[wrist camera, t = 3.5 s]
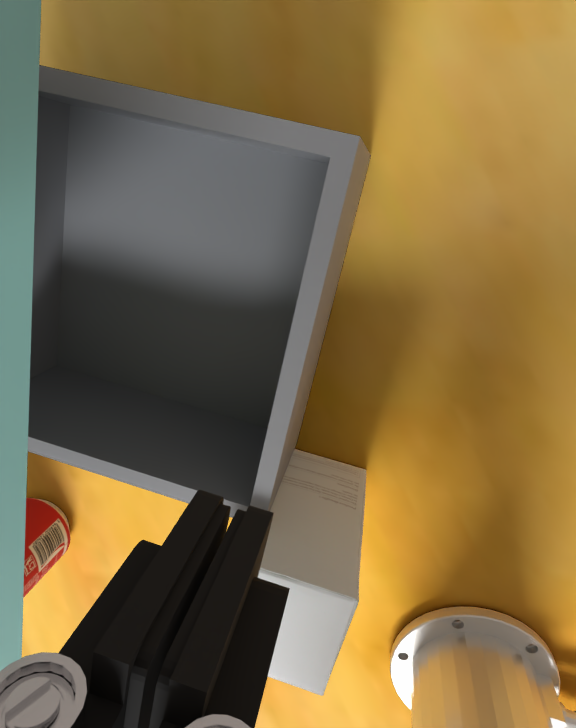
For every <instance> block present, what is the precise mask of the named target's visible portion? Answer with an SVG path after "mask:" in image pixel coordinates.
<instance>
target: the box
mask: <svg viewBox="0 0 576 728" xmlns="http://www.w3.org/2000/svg"><path fill="white" fill-rule="evenodd" d="M370 157H371V155H370V153H369V151H368V150H367V148H366V146H365V144H364V142H363V141H362V139H361V137H360V136H357V135H352V134H348V133H343V132H339V131H334V130H329V129H325V128H320V127H316V126H311V125H307V124H302V123H298V122H293V121H289V120H284V119H280V118H275V117H271V116H266V115H262V114H257V113H253V112H248V111H244V110H239V109H235V108H230V107H226V106H221V105H217V104H212V103H208V102H203V101H199V100H194V99H190V98H185V97H181V96H176V95H172V94H167V93H163V92H158V91H154V90H149V89H145V88H140V87H136V86H131V85H127V84H122V83H118V82H113V81H109V80H104V79H100V78H95V77H91V76H86V75H82V74H77V73H73V72H68V71H64V70H59V69H55V68H50V67H46V66H41V65H39V89H38V122H37V155H36V189H35V222H34V255H33V289H32V322H31V355H30V389H29V422H28V452H31V453H34V454H38V455H41V456H44V457H47V458H50V459H53V460H56V461H59V462H62V463H65V464H68V465H72V466H75V467H78V468H81V469H84V470H87V471H90V472H93V473H96V474H99V475H102V476H106V477H109V478H112V479H115V480H118V481H121V482H124V483H127V484H130V485H133V486H136V487H140V488H143V489H146V490H149V491H152V492H155V493H158V494H161V495H164V496H167V497H170V498H174V499H177V500H180V501H183V502H186V503H190V501H191V500H192V498H193V497H194V495H195V494H196V492H197V491H198V490H203V491H206V492H209V493H212V494H216V495H219V496H222V497H223V498H224V502H223V504H224V505H227V506H230V507H231V510H230V515H229V517H232V518H233V517H234V515H235V513H236V511H237V509H240V510H243V511H247V509H248V507H249V505H251V506H254V507H257V508H260V509H263V510H267V511H270V510H271V507H272V505H273V502H274V499H275V497H276V494H277V492H278V489H279V487H280V484H281V482H282V479H283V477H284V474H285V472H286V469H287V467H288V464H289V462H290V459H291V456H292V454H293V451H294V449H295V446H296V444H297V440H298V436H299V433H300V429H301V425H302V421H303V417H304V413H305V409H306V405H307V402H308V398H309V394H310V390H311V386H312V382H313V378H314V374H315V371H316V367H317V363H318V359H319V355H320V351H321V347H322V343H323V339H324V336H325V332H326V328H327V324H328V320H329V316H330V312H331V308H332V305H333V301H334V297H335V293H336V289H337V285H338V281H339V277H340V274H341V270H342V266H343V262H344V258H345V254H346V250H347V246H348V243H349V239H350V235H351V231H352V227H353V223H354V219H355V215H356V212H357V208H358V204H359V200H360V196H361V192H362V188H363V184H364V181H365V177H366V173H367V169H368V165H369V161H370Z"/></svg>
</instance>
